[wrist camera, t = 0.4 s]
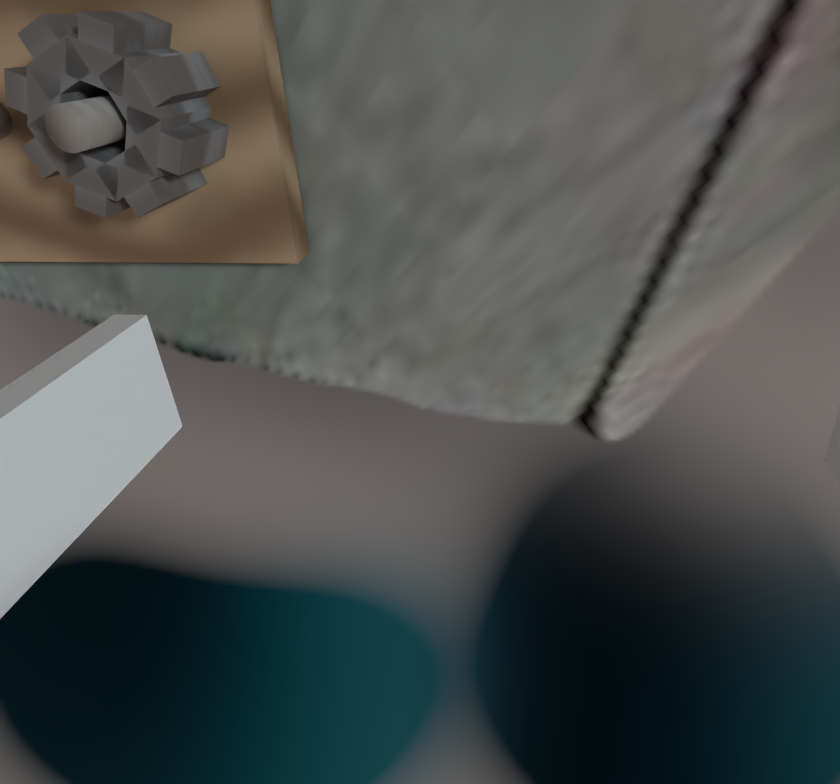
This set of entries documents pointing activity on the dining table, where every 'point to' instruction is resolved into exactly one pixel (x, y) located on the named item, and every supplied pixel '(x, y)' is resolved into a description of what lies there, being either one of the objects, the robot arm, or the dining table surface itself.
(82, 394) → the robot arm
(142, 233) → the gear board
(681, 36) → the dining table surface
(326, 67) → the dining table surface
